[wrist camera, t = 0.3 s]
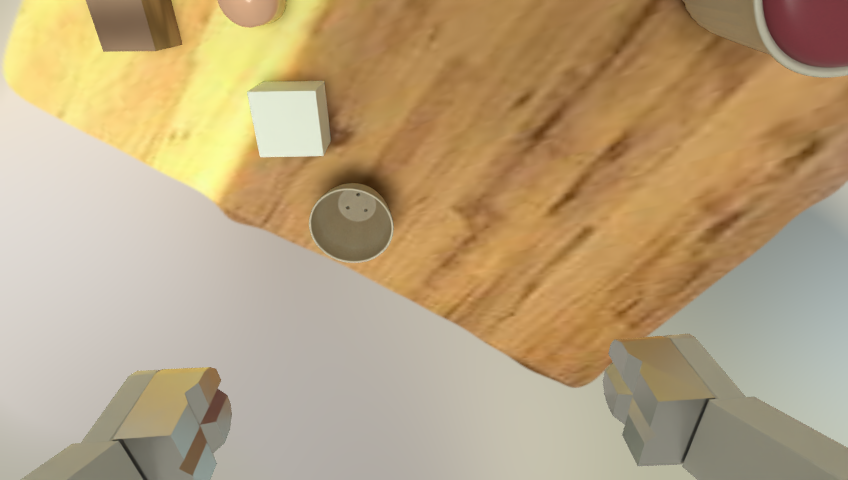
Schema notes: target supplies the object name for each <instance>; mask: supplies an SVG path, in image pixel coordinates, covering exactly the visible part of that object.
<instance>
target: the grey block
mask: <svg viewBox="0 0 848 480" xmlns="http://www.w3.org/2000/svg"><path fill="white" fill-rule="evenodd" d="M247 94H248V99H249V104H250V109H251V114H252V119H253V124H254V129H255V134H256V139H257V144H258V149H259V154H260V157H294V156H324V154H325V152H326V150H327V148H328V146H329V143H330V141H331V136H330V127H329V118H328V109H327V101H326V92H325V83H324V81H274V82H262V83H260V84H259V85H257V86H255V87H254V88H252V89H251V90H249V91H248V92H247Z"/></svg>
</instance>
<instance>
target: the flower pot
mask: <svg viewBox="0 0 848 480" xmlns="http://www.w3.org/2000/svg"><path fill="white" fill-rule="evenodd" d="M357 193H358V196H357ZM347 208H349V209H347ZM366 209H367V210H366ZM309 228H310V233H311V236H312V238H313V240H314V242H315V243H316V245H317V246H318V247H319V248H320V249H321V250H322V251H323V252H324V253H325V254H327V255H328V256H330V257H332V258H334V259H336V260H339V261H343V262H348V263H360V262H366V261H369V260H372V259H374V258H376V257H377V256H379V255H380V254H381V253H383V252H384V251H385V249H386V248H387V247H388V246H389V244H390V242H391V240H392V236H393V229H394V228H393V219H392V215H391V212H390V210H389V207H388V205H387V204H386V202H385V200H384V199H383V198H382V197H381V195H380V194H379V193H377V192H376V191H375V190H374V189H372V188H370V187H368V186H366V185H363V184H359V183H347V184H342V185H339V186H337V187H335V188H333V189H331V190H329V191H328V192H327V193H325V194H324V195H323V196H322V197H321V198H320V199H319V200H318V201H317V203H316V204H315V205H314V207H313V209H312V211H311V214H310V218H309Z"/></svg>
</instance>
